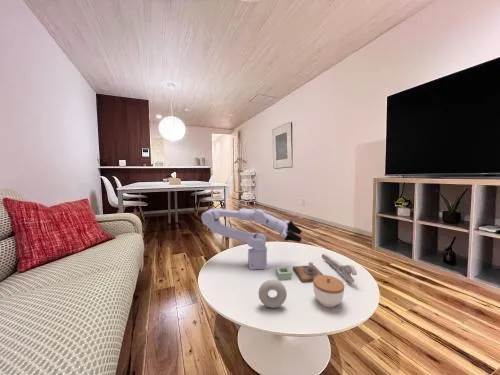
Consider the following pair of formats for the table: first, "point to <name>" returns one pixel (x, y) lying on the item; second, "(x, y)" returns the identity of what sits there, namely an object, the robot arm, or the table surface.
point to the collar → (283, 273)
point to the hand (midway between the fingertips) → (300, 236)
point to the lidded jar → (328, 290)
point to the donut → (272, 301)
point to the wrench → (341, 268)
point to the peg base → (306, 272)
